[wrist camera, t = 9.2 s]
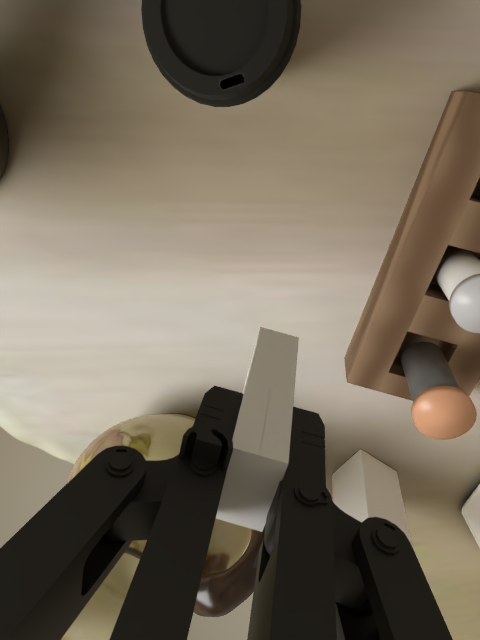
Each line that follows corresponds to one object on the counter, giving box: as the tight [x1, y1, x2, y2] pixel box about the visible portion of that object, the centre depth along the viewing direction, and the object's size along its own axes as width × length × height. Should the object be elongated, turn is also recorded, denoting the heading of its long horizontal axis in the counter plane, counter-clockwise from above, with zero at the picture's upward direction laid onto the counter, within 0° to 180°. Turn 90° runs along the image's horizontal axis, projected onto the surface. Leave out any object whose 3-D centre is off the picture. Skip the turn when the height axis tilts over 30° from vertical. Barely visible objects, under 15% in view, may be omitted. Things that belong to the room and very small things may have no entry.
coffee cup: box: [142, 0, 301, 107], centre depth 32 cm, size 10×10×15 cm
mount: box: [345, 91, 480, 401], centre depth 42 cm, size 12×28×5 cm, turn 167°
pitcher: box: [61, 414, 266, 640], centre depth 51 cm, size 22×24×25 cm
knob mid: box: [434, 247, 480, 333], centre depth 39 cm, size 5×5×9 cm
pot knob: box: [401, 342, 476, 440], centre depth 41 cm, size 5×5×9 cm
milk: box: [332, 449, 413, 548], centre depth 49 cm, size 6×6×22 cm
